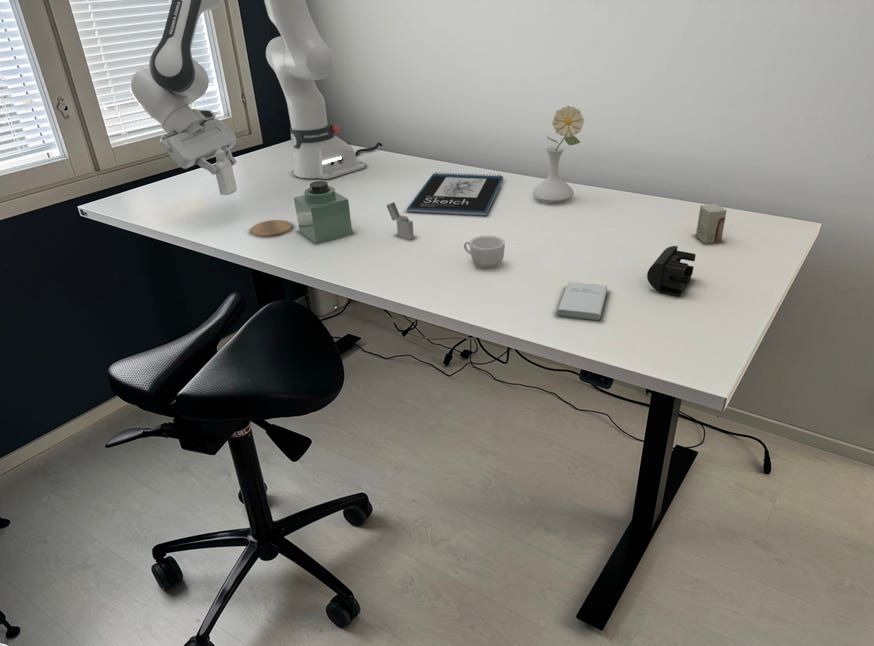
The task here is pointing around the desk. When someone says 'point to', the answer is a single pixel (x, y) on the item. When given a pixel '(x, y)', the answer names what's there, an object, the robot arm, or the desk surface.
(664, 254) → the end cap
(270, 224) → the coaster
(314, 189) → the grey short cylinder
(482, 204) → the sketchbook
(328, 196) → the dispenser
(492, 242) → the teacup
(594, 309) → the hard drive
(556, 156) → the flower in vase
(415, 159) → the desk surface
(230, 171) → the eye dropper bottle
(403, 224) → the lighter
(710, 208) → the small box
